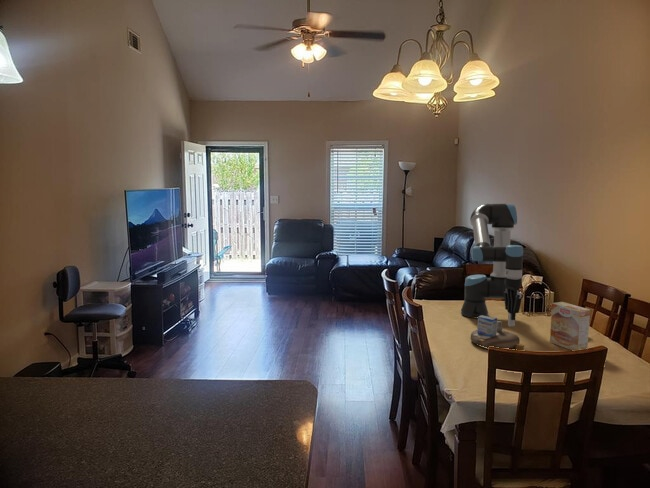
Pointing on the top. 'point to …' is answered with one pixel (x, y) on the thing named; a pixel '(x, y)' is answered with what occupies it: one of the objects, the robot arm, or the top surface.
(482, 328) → the medicine box
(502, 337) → the index dial
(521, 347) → the dial base
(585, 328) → the coffeecake box
